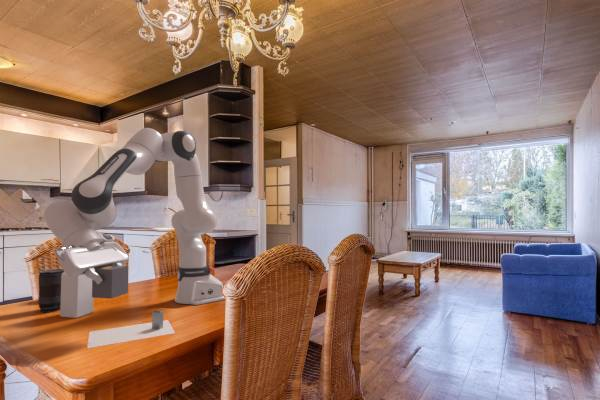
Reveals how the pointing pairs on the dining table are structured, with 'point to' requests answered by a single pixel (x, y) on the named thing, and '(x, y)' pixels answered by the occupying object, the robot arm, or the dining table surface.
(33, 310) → the dining table surface
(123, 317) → the dining table surface
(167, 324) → the workboard
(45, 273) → the camera lens
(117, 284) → the block
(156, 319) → the d shaft
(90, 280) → the milk carton
